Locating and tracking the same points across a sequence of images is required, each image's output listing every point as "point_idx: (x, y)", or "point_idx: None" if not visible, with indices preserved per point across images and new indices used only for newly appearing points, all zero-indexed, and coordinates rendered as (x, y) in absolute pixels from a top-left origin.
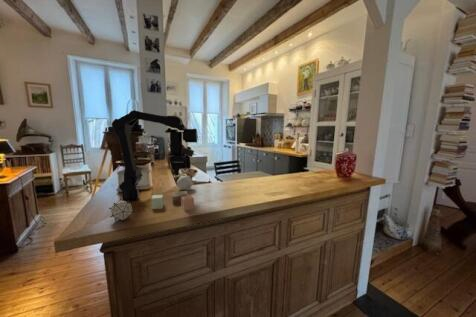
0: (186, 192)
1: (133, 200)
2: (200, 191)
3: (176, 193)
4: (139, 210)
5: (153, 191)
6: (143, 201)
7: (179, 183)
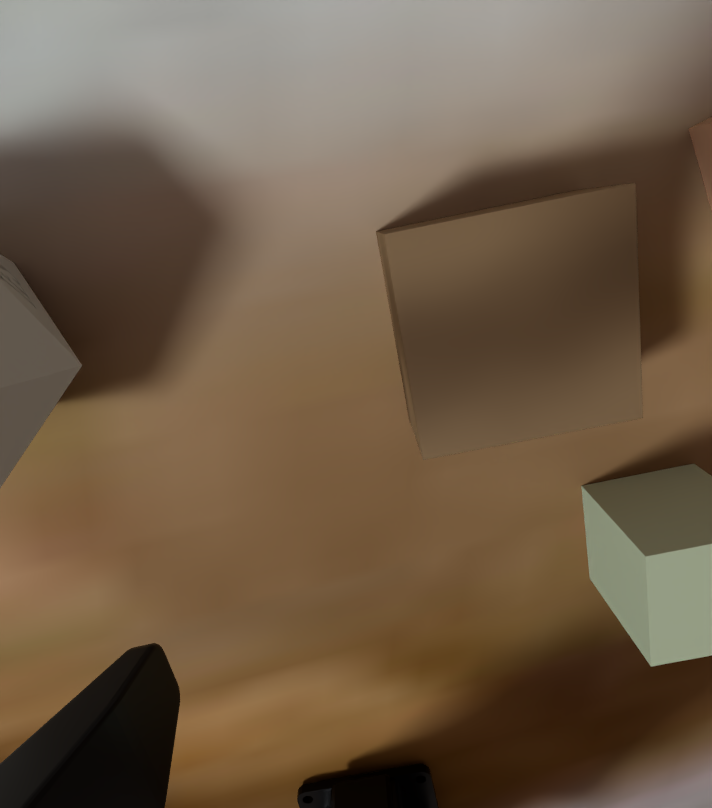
0: (473, 231)
1: (432, 783)
2: (45, 35)
3: (506, 389)
4: None
5: None
6: (451, 696)
7: (10, 448)
